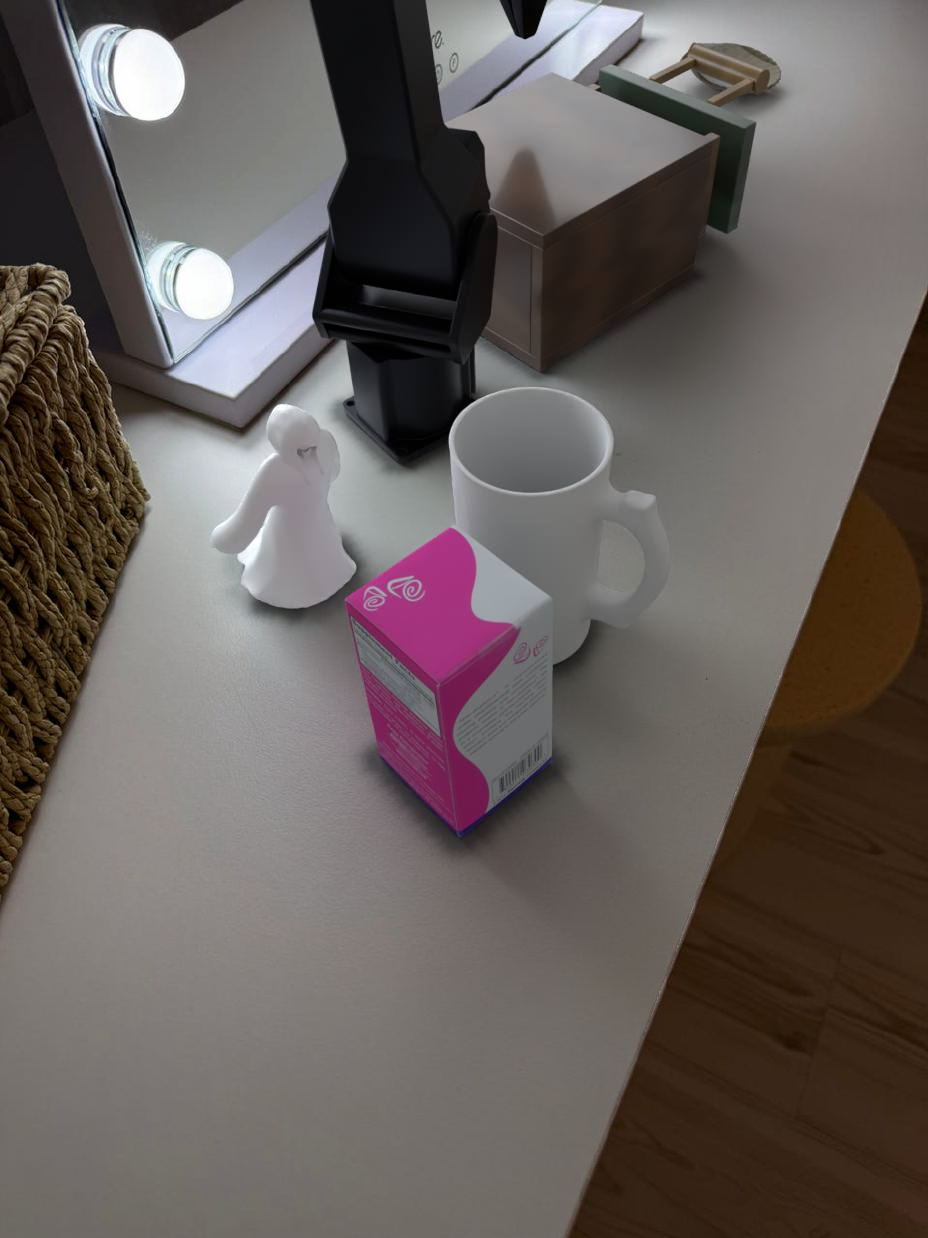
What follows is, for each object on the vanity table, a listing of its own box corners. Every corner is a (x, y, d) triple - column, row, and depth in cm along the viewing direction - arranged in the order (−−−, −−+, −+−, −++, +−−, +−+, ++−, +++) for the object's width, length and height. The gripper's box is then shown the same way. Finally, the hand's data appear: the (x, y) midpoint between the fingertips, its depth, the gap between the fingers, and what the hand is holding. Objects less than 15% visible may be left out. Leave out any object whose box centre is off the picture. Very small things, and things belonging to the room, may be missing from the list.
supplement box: (468, 685, 49) (457, 516, 40) (555, 763, 46) (564, 601, 38) (373, 756, 47) (339, 594, 38) (458, 843, 44) (444, 690, 35)
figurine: (294, 649, 51) (244, 471, 42) (191, 573, 55) (124, 393, 45) (398, 560, 55) (373, 377, 45) (295, 494, 58) (253, 312, 49)
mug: (435, 641, 51) (417, 461, 42) (500, 553, 55) (498, 368, 45) (620, 724, 48) (647, 548, 38) (677, 624, 51) (714, 440, 42)
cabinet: (548, 201, 77) (551, 71, 69) (693, 274, 70) (714, 139, 63) (396, 283, 71) (383, 151, 63) (540, 372, 64) (543, 235, 57)
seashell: (752, 133, 85) (791, 71, 88) (761, 102, 82) (801, 39, 85) (662, 96, 87) (703, 37, 89) (668, 65, 84) (710, 5, 87)
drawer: (654, 138, 80) (666, 26, 74) (788, 196, 74) (813, 80, 68) (471, 236, 72) (467, 122, 66) (605, 311, 66) (614, 192, 60)
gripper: (776, -300, 51) (726, 37, 63) (512, -341, 60) (513, -39, 72) (625, -253, 46) (603, 99, 59) (364, -305, 55) (391, 10, 68)
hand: (525, 35), depth 64 cm, fingers closed
